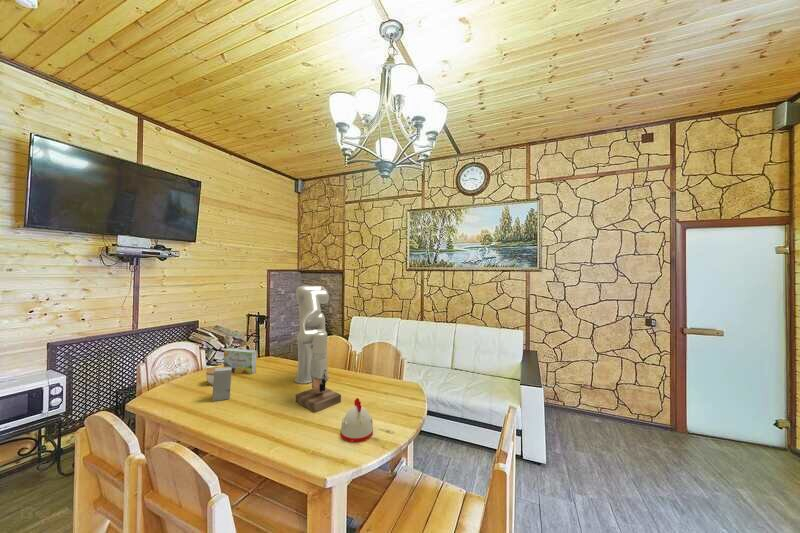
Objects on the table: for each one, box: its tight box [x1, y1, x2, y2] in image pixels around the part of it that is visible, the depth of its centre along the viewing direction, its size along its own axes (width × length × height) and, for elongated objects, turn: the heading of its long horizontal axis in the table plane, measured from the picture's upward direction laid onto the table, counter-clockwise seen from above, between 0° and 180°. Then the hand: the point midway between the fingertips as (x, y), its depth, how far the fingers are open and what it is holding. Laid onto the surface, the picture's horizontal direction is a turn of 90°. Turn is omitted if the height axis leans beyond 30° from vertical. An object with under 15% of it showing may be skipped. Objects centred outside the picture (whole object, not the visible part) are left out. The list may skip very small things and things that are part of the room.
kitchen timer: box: [340, 397, 374, 443], centre depth 131 cm, size 14×14×15 cm
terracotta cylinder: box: [312, 378, 324, 393], centre depth 160 cm, size 6×6×7 cm
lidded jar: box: [205, 367, 219, 386], centre depth 182 cm, size 11×11×9 cm
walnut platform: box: [295, 387, 342, 413], centre depth 160 cm, size 18×16×4 cm
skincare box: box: [211, 366, 233, 402], centre depth 162 cm, size 8×7×16 cm
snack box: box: [223, 347, 257, 375], centre depth 203 cm, size 21×6×15 cm, turn 81°
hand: (318, 389), depth 160 cm, fingers closed on terracotta cylinder, 6 cm apart
